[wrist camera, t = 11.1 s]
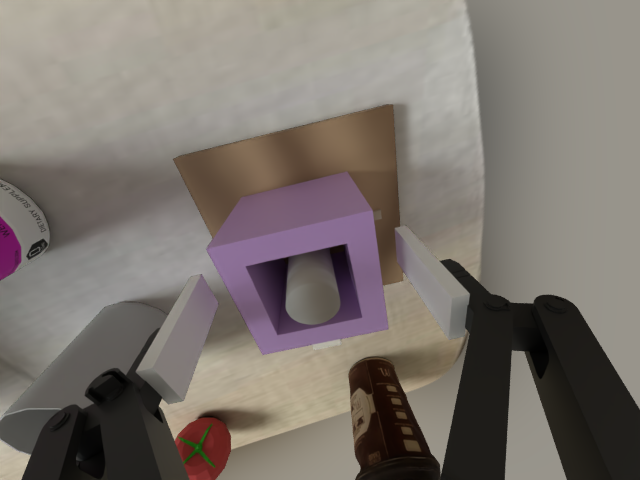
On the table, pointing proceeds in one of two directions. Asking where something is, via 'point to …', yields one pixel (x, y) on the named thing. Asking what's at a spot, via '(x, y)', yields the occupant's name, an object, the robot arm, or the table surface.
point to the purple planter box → (296, 238)
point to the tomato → (204, 448)
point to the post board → (300, 166)
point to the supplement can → (20, 230)
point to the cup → (80, 369)
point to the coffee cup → (386, 426)
